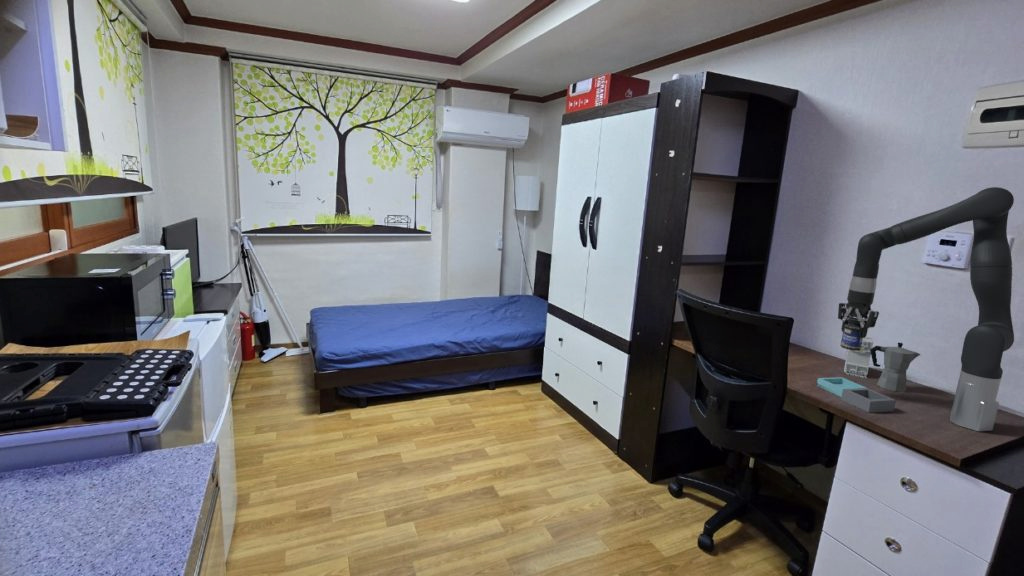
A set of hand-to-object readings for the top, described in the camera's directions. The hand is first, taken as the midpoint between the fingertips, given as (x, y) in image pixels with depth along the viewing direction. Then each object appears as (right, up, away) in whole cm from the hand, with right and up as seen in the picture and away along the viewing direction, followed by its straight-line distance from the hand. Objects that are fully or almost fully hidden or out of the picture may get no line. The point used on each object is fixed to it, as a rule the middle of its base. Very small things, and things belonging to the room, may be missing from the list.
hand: (853, 334), depth 173 cm
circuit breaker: (+21, -18, +29) cm, 40 cm away
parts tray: (-1, -21, +5) cm, 22 cm away
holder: (-1, -24, -7) cm, 25 cm away
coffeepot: (+22, -22, +12) cm, 33 cm away
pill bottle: (0, -5, +1) cm, 5 cm away
